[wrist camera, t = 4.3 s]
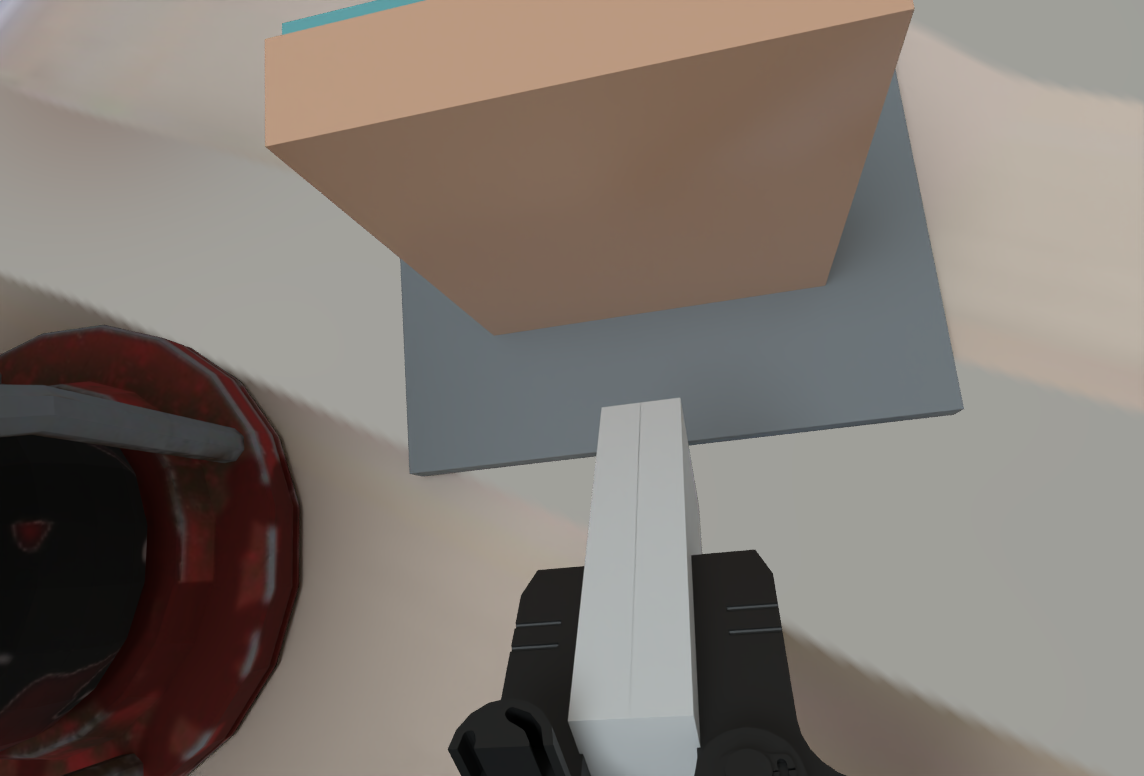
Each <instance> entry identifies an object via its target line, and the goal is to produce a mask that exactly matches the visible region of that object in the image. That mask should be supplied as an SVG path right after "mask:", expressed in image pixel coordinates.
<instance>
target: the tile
mask: <svg viewBox="0 0 1144 776" xmlns="http://www.w3.org/2000/svg"><path fill="white" fill-rule="evenodd" d="M913 12H914V4H913V0H376V1H372V2H368V3H364V4H360V5H356V6H352V7H348V8H343V9H339V10H335V11H331V12H327V13H323V14H319V15H315V16H311V17H307V18H303V19H299V20H295V21H290V22H286V23H282V35H280V36H276V37H272V38H268V39H265V147H266V148H268V149H269V150H270V151H271V152H272V153H274V154H275V155H276V156H277V157H278V158H280V159H281V160H282V161H283V162H284V163H286V164H287V165H288V166H289V167H291V168H292V169H293V170H294V171H295V172H297V173H298V174H299V175H300V176H301V177H303V178H304V179H305V180H306V181H307V182H309V183H310V184H311V185H312V186H314V187H315V188H316V189H317V190H318V191H320V192H321V193H322V194H323V195H324V196H326V197H327V198H328V199H329V200H330V201H332V202H333V203H334V204H335V205H337V206H338V207H339V208H340V209H342V210H343V211H344V212H345V213H346V214H348V215H349V216H350V217H351V218H352V219H353V220H355V221H356V222H357V223H358V224H360V225H361V226H362V227H363V228H364V229H366V230H367V231H368V232H369V233H370V234H372V235H373V236H374V237H375V238H376V239H378V240H379V241H380V242H381V243H382V244H384V245H385V246H386V247H387V248H389V249H390V250H391V251H392V252H393V253H395V254H396V255H397V256H398V257H399V258H401V259H402V260H403V261H404V262H405V263H407V264H408V265H409V266H410V267H412V268H413V269H414V270H415V271H416V272H418V273H419V274H420V275H421V276H422V277H424V278H425V279H426V280H427V281H428V282H430V283H431V284H432V285H433V286H435V287H436V288H437V289H438V290H439V291H441V292H442V293H443V294H444V295H445V296H447V297H448V298H449V299H450V300H451V301H453V302H454V303H455V304H456V305H458V306H459V307H460V308H461V309H462V310H464V311H465V312H466V313H467V314H468V315H470V316H471V317H472V318H473V319H474V320H476V321H477V322H478V323H479V324H481V325H482V326H483V327H484V328H485V329H487V330H488V331H489V332H490V333H491V334H493V335H494V336H495V335H501V334H508V333H515V332H521V331H528V330H535V329H541V328H548V327H554V326H561V325H568V324H574V323H581V322H588V321H594V320H601V319H608V318H614V317H621V316H627V315H634V314H641V313H647V312H654V311H661V310H667V309H674V308H681V307H687V306H694V305H700V304H707V303H714V302H720V301H727V300H734V299H740V298H747V297H754V296H760V295H767V294H773V293H780V292H787V291H793V290H800V289H807V288H813V287H820V286H825V285H826V282H827V279H828V276H829V272H830V269H831V266H832V263H833V260H834V257H835V254H836V251H837V248H838V244H839V241H840V238H841V235H842V232H843V229H844V226H845V223H846V220H847V217H848V213H849V210H850V207H851V204H852V201H853V198H854V195H855V192H856V189H857V185H858V182H859V179H860V176H861V173H862V170H863V167H864V164H865V161H866V158H867V154H868V151H869V148H870V145H871V142H872V139H873V136H874V133H875V130H876V127H877V123H878V120H879V117H880V114H881V111H882V108H883V105H884V102H885V99H886V95H887V92H888V89H889V86H890V83H891V80H892V77H893V74H894V71H895V68H896V64H897V61H898V58H899V55H900V52H901V49H902V46H903V43H904V40H905V37H906V33H907V30H908V27H909V24H910V21H911V18H912V15H913Z"/></svg>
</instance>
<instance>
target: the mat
mask: <svg viewBox="0 0 1144 776" xmlns="http://www.w3.org/2000/svg"><path fill="white" fill-rule="evenodd" d="M400 262H401V283H402V308H403V331H404V353H405V377H406V399H407V423H408V445H409V468H410V474H414V475H419V476H430V475H439V474H447V473H456V472H464V471H473V470H482V469H490V468H498V467H506V466H515V465H524V464H532V463H541V462H550V461H559V460H568V459H576V458H585V457H593V456H596V455H597V446H598V437H599V428H600V418H601V409H602V407H609V406H617V405H625V404H633V403H641V402H649V401H657V400H665V399H672V398H680V399H681V405H682V410H683V416H684V422H685V428H686V434H687V440H688V445H696V444H705V443H713V442H722V441H731V440H740V439H748V438H757V437H765V436H774V435H782V434H791V433H799V432H808V431H817V430H825V429H833V428H843V427H851V426H860V425H868V424H877V423H885V422H895V421H903V420H912V419H920V418H929V417H938V416H946V415H954V414H956V413H957V412H959V411H961V410H962V409H964V407H963V402H962V397H961V392H960V388H959V382H958V377H957V373H956V367H955V362H954V357H953V352H952V347H951V343H950V338H949V333H948V328H947V323H946V318H945V313H944V308H943V303H942V298H941V293H940V288H939V283H938V278H937V273H936V268H935V263H934V259H933V254H932V249H931V244H930V239H929V234H928V229H927V224H926V219H925V214H924V209H923V204H922V199H921V194H920V189H919V184H918V179H917V174H916V170H915V165H914V160H913V155H912V150H911V145H910V140H909V135H908V130H907V125H906V120H905V115H904V110H903V105H902V100H901V95H900V90H899V86H898V81H897V76H896V71H894V74H893V77H892V80H891V83H890V86H889V89H888V92H887V95H886V99H885V102H884V105H883V108H882V111H881V114H880V117H879V120H878V123H877V127H876V130H875V133H874V136H873V139H872V142H871V145H870V148H869V151H868V154H867V158H866V161H865V164H864V167H863V170H862V173H861V176H860V179H859V182H858V185H857V189H856V192H855V195H854V198H853V201H852V204H851V207H850V210H849V213H848V217H847V220H846V223H845V226H844V229H843V232H842V235H841V238H840V241H839V244H838V248H837V251H836V254H835V257H834V260H833V263H832V266H831V269H830V272H829V276H828V279H827V282H826V285H825V286H820V287H813V288H807V289H800V290H793V291H787V292H780V293H773V294H767V295H760V296H754V297H747V298H740V299H734V300H727V301H720V302H714V303H707V304H700V305H694V306H687V307H681V308H674V309H667V310H661V311H654V312H647V313H641V314H634V315H627V316H621V317H614V318H608V319H601V320H594V321H588V322H581V323H574V324H568V325H561V326H554V327H548V328H541V329H535V330H528V331H521V332H515V333H508V334H501V335H495V336H494V335H493V334H491V333H490V332H489V331H488V330H487V329H485V328H484V327H483V326H482V325H481V324H479V323H478V322H477V321H476V320H474V319H473V318H472V317H471V316H470V315H468V314H467V313H466V312H465V311H464V310H462V309H461V308H460V307H459V306H458V305H456V304H455V303H454V302H453V301H451V300H450V299H449V298H448V297H447V296H445V295H444V294H443V293H442V292H441V291H439V290H438V289H437V288H436V287H435V286H433V285H432V284H431V283H430V282H428V281H427V280H426V279H425V278H424V277H422V276H421V275H420V274H419V273H418V272H416V271H415V270H414V269H413V268H412V267H410V266H409V265H408V264H407V263H405V262H404V261H403V260H402V259H401V258H400Z"/></svg>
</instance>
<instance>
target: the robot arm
mask: <svg viewBox="0 0 1144 776" xmlns="http://www.w3.org/2000/svg"><path fill="white" fill-rule="evenodd" d="M511 646H512V652H510V656H509V661H508V666H507V671H506V677H505V682H504V687H503V692H502V698H501V700H499V701H495V702H490V703H488V704H486V705H484V706H483V707H481V708H480V709H478V710H476V711H475V712H473V713H471V714H470V715H469V716H468V717H467V718H466V720H465V721H464V722H463V723H462V724H461V725H460V726H459V727H458V729H457V730H456V732H455V734H454V736H453V738H452V741H451V743H450V745H449V748H448V751H449V753H450V755H451V757H452V759H453V761H454V763H455V765H456V766H457V768H458V770H459V772H460V774H461V776H846V775H843V774H841V773H838V772H837V771H835V770H834V769H832V768H831V767H829V766H828V765H826V764H825V763H824V762H822V761H821V760H820V759H819V758H818V757H817V756H816V755H815V754H814V752H813V751H812V750H811V749H810V748H809V746H808V745H807V743H806V741H805V740H804V738H803V736H802V735H801V732H800V728H799V725H798V722H797V717H796V711H795V705H794V699H793V693H792V687H791V681H790V675H789V669H788V663H787V657H786V651H785V644H784V638H783V632H782V626H781V620H780V614H779V608H778V602H777V596H776V590H775V584H774V578H773V573H772V572H771V570H770V569H769V568H768V567H767V565H766V564H765V563H764V561H763V560H762V558H761V557H760V556H759V554H758V553H757V552H756V550H746V551H734V552H722V553H711V554H702V547H701V531H700V514H699V504H698V498H697V492H696V486H695V481H694V475H693V469H692V463H691V457H690V451H689V445H688V440H687V434H686V428H685V422H684V416H683V410H682V405H681V399H680V398H672V399H665V400H657V401H649V402H641V403H633V404H625V405H617V406H609V407H602V409H601V418H600V428H599V437H598V446H597V455H596V465H595V474H594V483H593V492H592V502H591V511H590V520H589V529H588V539H587V548H586V557H585V566H582V567H570V568H558V569H547V570H538V571H537V572H536V574H535V575H534V577H533V578H532V580H531V581H530V583H529V584H528V586H527V587H526V589H525V590H524V592H523V593H522V595H521V599H520V604H519V609H518V614H517V619H516V629H515V630H514V635H513V640H512V645H511Z"/></svg>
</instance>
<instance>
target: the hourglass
mask: <svg viewBox="0 0 1144 776" xmlns="http://www.w3.org/2000/svg"><path fill="white" fill-rule="evenodd" d="M299 512H300V506H299V503H298V500H297V496H296V493H295V489H294V486H293V482H292V479H291V476H290V472H289V469H288V465H287V462H286V458H285V455H284V452H283V448H282V445H281V441H280V438H279V436H278V434H277V433H276V431H275V430H274V428H273V427H272V426H271V424H270V423H269V421H268V420H267V418H266V417H265V416H264V414H263V413H262V411H261V410H260V408H259V407H258V406H257V404H256V403H255V401H254V400H253V398H252V397H251V395H250V394H249V393H248V391H247V390H246V388H245V387H244V385H243V384H242V383H241V382H240V381H239V380H237V379H236V378H234V377H233V376H231V375H230V374H228V373H227V372H226V371H224V370H223V369H221V368H220V367H218V366H217V365H215V364H214V363H212V362H211V361H209V360H208V359H207V358H205V357H204V356H202V355H201V354H199V353H198V352H196V351H195V350H193V349H192V348H190V347H186V346H184V345H181V344H178V343H176V342H173V341H170V340H167V339H164V338H160V337H156V336H151V335H147V334H142V333H138V332H134V331H129V330H125V329H120V328H116V327H111V326H107V325H99V326H92V327H85V328H78V329H71V330H65V331H58V332H51V333H44V334H41V335H39V336H37V337H35V338H33V339H31V340H29V341H27V342H25V343H23V344H21V345H19V346H17V347H15V348H13V349H11V350H9V351H7V352H5V353H3V354H1V355H0V776H187V775H188V774H189V773H190V772H191V771H193V770H194V769H195V768H196V767H197V766H198V765H199V764H200V763H202V762H203V761H204V760H205V759H206V758H207V757H208V756H210V755H211V754H212V753H213V752H214V751H215V750H216V749H218V748H219V747H220V746H221V745H222V744H223V743H224V742H226V741H227V740H228V739H229V738H230V737H231V736H232V735H233V734H234V732H235V731H236V729H237V727H238V726H239V724H240V723H241V721H242V719H243V718H244V716H245V715H246V713H247V711H248V710H249V708H250V706H251V705H252V703H253V702H254V700H255V698H256V697H257V695H258V694H259V692H260V690H261V689H262V687H263V685H264V684H265V682H266V681H267V679H268V677H269V676H270V674H271V673H272V671H273V669H274V668H275V666H276V664H277V660H278V657H279V653H280V650H281V646H282V643H283V639H284V636H285V632H286V629H287V625H288V622H289V618H290V615H291V612H292V608H293V605H294V601H295V598H296V594H297V591H298V587H299Z"/></svg>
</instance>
